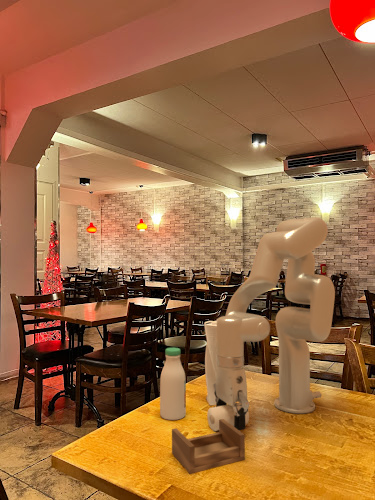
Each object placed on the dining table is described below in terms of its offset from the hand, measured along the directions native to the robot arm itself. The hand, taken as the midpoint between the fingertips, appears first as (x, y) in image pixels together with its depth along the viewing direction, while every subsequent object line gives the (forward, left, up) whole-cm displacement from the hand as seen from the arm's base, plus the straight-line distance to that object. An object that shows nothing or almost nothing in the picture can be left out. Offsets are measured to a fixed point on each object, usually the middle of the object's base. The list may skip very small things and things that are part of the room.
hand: (230, 422), depth 109 cm
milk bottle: (+11, -15, -2) cm, 19 cm away
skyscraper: (-6, -19, -2) cm, 20 cm away
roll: (0, 0, -1) cm, 1 cm away
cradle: (+13, +11, -1) cm, 17 cm away
